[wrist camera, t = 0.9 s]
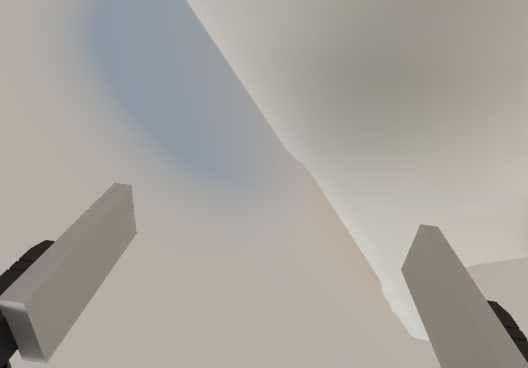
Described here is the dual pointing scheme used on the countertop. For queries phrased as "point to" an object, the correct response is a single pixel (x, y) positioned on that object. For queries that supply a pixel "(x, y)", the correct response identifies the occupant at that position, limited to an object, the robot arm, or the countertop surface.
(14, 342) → the robot arm
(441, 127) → the countertop surface
